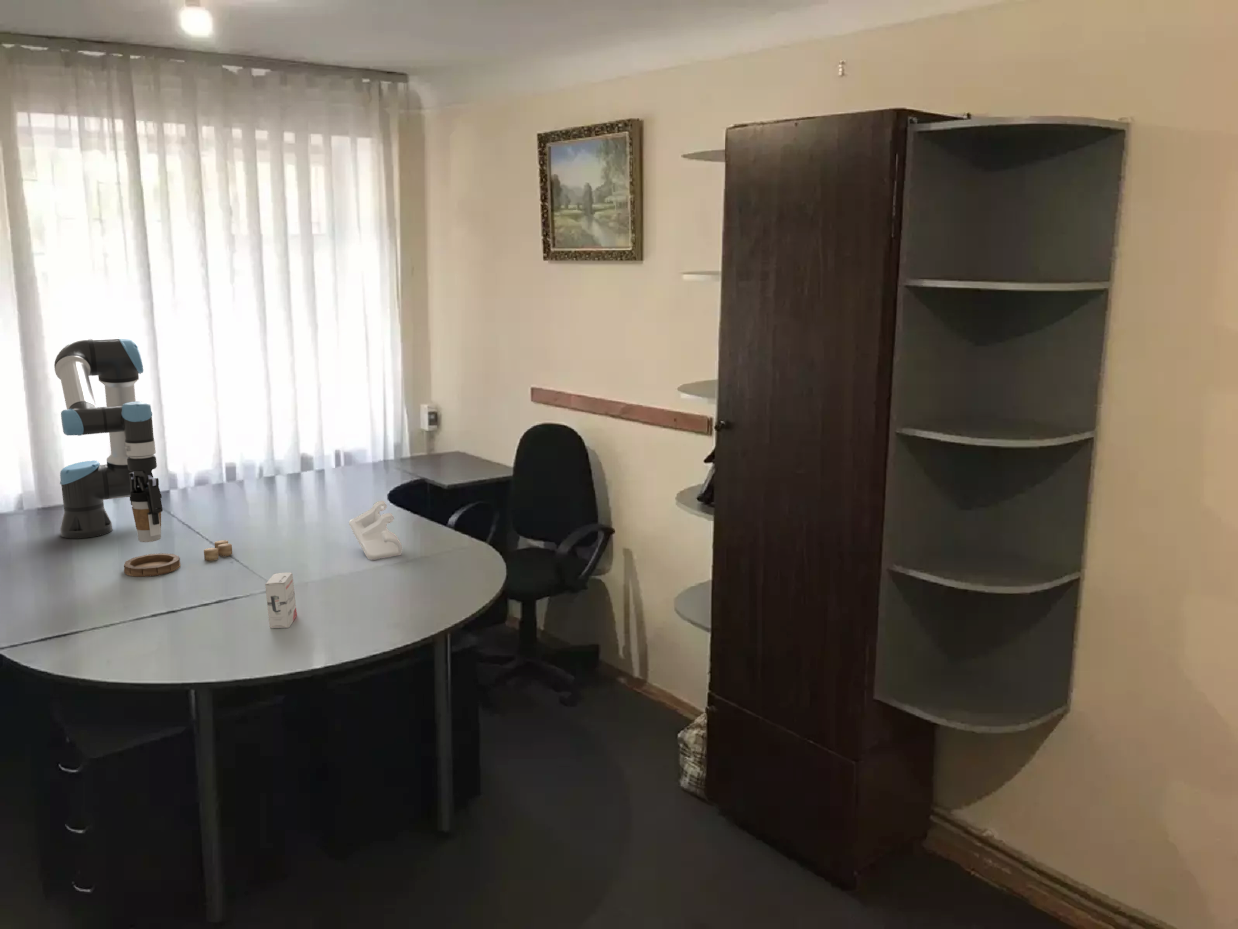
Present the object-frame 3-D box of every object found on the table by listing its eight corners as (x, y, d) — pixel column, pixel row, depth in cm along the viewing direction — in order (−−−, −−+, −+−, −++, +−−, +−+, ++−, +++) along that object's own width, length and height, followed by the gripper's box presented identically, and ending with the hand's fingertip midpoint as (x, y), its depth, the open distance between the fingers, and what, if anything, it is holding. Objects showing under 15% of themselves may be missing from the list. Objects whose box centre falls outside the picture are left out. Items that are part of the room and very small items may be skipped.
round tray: (115, 569, 283) (114, 561, 282) (166, 557, 294) (165, 550, 293) (138, 580, 273) (137, 572, 273) (189, 567, 284) (189, 560, 284)
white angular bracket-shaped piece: (401, 567, 302) (407, 536, 295) (366, 573, 295) (372, 542, 288) (378, 526, 314) (383, 495, 307) (344, 531, 307) (349, 500, 300)
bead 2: (212, 551, 300) (211, 542, 300) (224, 548, 303) (223, 539, 303) (219, 554, 298) (218, 544, 297) (231, 551, 301) (230, 541, 300)
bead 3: (216, 554, 297) (215, 545, 296) (228, 552, 300) (227, 542, 299) (222, 557, 295) (222, 548, 294) (235, 554, 298) (234, 545, 297)
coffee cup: (153, 544, 277) (148, 493, 273) (127, 542, 278) (122, 492, 275) (172, 536, 285) (167, 487, 281) (146, 534, 286) (141, 485, 283)
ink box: (277, 616, 247) (273, 572, 244) (297, 615, 247) (294, 571, 245) (268, 629, 238) (264, 583, 236) (288, 628, 239) (285, 583, 236)
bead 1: (202, 559, 293) (201, 549, 292) (214, 556, 296) (213, 547, 295) (208, 562, 290) (207, 552, 290) (221, 558, 293) (220, 549, 293)
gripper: (112, 453, 280) (120, 528, 285) (144, 462, 267) (152, 541, 272) (138, 449, 285) (146, 523, 290) (171, 458, 273) (178, 536, 277)
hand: (149, 532), depth 281 cm, fingers closed on coffee cup, 8 cm apart
